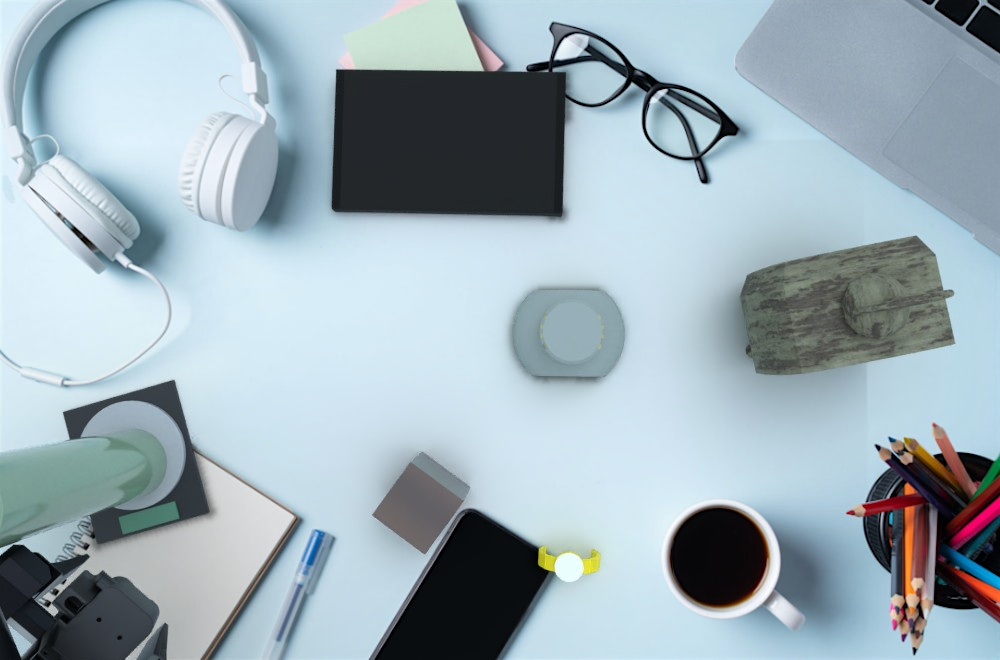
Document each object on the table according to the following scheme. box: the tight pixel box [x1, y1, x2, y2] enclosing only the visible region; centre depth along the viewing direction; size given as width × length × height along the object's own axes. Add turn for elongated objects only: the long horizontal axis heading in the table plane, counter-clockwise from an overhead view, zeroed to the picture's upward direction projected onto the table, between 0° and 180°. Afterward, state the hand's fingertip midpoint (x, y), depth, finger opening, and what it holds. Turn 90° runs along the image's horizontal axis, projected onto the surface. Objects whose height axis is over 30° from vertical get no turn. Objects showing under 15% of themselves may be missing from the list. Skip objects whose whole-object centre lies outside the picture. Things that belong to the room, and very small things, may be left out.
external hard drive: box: [331, 68, 567, 217], centre depth 79 cm, size 14×23×3 cm, turn 88°
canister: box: [0, 429, 167, 549], centre depth 66 cm, size 7×7×26 cm
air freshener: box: [512, 289, 626, 378], centre depth 75 cm, size 11×8×10 cm
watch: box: [537, 545, 601, 583], centre depth 76 cm, size 6×3×6 cm, turn 87°
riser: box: [371, 451, 471, 555], centre depth 75 cm, size 6×6×9 cm
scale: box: [62, 379, 211, 545], centre depth 80 cm, size 14×12×2 cm
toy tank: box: [739, 235, 956, 376], centre depth 66 cm, size 14×9×25 cm, turn 101°
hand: (124, 592), depth 70 cm, fingers open, 9 cm apart
